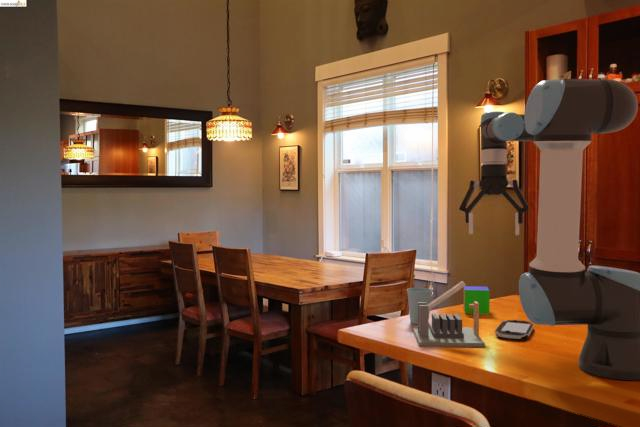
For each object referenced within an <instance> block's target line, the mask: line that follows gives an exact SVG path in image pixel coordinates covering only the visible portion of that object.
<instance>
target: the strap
mask: <svg viewBox="0 0 640 427" xmlns="http://www.w3.org/2000/svg"><path fill="white" fill-rule="evenodd" d="M464 286H467V284H466V283H465V281H463V280H461V281H460V282H458V283H457V284H455V285H454V286H452V287H451V288H449V289H448V290H446V291H445V292H443V293H442V294H441V295H440V296H438V297H436V298H435V299H433V300H431V303H429V304H428V306H429V310H432V309H433V308H435V307H436V306H438V305H439V304H441V303H442V302H444V301H445V300H447V299H448V298H450V297H451V296H452V295H454V294H455V293H457V292H458V291H460V290H461V289H464Z"/></svg>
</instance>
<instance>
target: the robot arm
mask: <svg viewBox="0 0 640 427" xmlns="http://www.w3.org/2000/svg"><path fill="white" fill-rule="evenodd" d="M638 110H639V102H638V98H637V96H636V94H635V92H634V91H633V89H631V88H630V87H629V86H628V85H626V83H623V82H620V81H619V80H617V79H616V80H615V79H609V78H601V79H600V78H599V79H597V78H596V79H592V78H591V79H590V78H589V79H588V78H587V79H586V78H556V79H545V80H541V81H540V82H538V83H537V84H535V86H534V87H533V89H531V92H530V93H529V95H528V98H527V101H526V105H525V109H524V113H521V114H520V113H516V112H513V111H512V112H510V111H509V112H504V111H488V112H483V113H482V114H481V116H480V124H479V127H480V163H481V164H482V165H481V166H480V180H479V181H477V180H476V181H475V180H470V182H469V188H468V190H467V192H466V194H465V195H464V197H463V199H462V202H461V204H460V205H459V208H458V209H459V211H462V212H464V213H465V214H464V217H465V218H464V220H465V223H466V224H468V235H473V234H474V212H472V210H474V208H475V207H476V206H477V205H478V203H479V202H480V201H481V200H482V199H483V198H484V197H485V196H486V195H487V196H494V195H495V196H501V195H502V196H504V198H505V199H506V200H507V201H508V202H509V203H510V204H511V205H512V207H514V209H515V210H516V211H517V212H515V215H514V216H515V218H514V219H515V220H514V221H515V225H514V226H515V227H514V228H515V230H514V231H515V232H514V233H515V236H519V235H520V224H523V223H524V213H525V212H527V211H530V209H531V208H530V206H529V204H528V202H527V201H526V199H525V196H524V195H523V193H522V191H521V189H520V187H519V181H518V180H517V179H512V180H508V178H507V177H508V168H507V167H508V166H507V165H506V163H507V162H508V152H507V151H508V150H507V149H508V145H507V144H508V142H533V144H534V145H535V147H537V148H538V149H539V151H540V155H539V156H540V158H539V159H540V160H539V179H538V180H539V184H538V208H537V210H538V211H537V235H536V237H537V238H536V256H535V258H533V260H531V261H530V262H529V264H528V265H529V266H528V272H527V271H526V272H525V271H524V273H521V275H520V276H519V280H518V295H519V301H520V304H521V307H522V310H523V313H524V314H525V316H526V318H527V319H528V320H529V322H531V324H533V325H537V326H538V325H540V326H550V327H554V326H587V333H586V336H585V337H586V338H585V339H584V342H583V344H582V348H581V351H580V353H579V355H578V367H579V368H580V370H582V371H584V372H586V373H588V374H589V375H590V374H591V375H594V376H597V377H600V378H601V377H602V378H606V379H613V380H618V381H619V380H620V381H640V272H637V271H634V270H628V269H623V268H617V267H611V266H610V267H609V266H602V265H589V266H588V268H587V269H586V266H585V265H584V264H583V263H582V262H581V261H580V260H579V249H580V248H579V246H580V245H579V244H580V225H581V206H582V205H581V202H582V181H583V179H582V178H583V158H584V157H583V156H584V154H583V153H584V150H585V149H586V148H587V146H589V145H590V144H591V143H592V135H594V134H595V135H596V134H597V135H599V134H610V133H615V132H619V131H622V130H624V129H626V128H627V127H628V126H630V124H631V123H632V122H633V121H634V120H635V118H636V117H637V113H638V112H639V111H638ZM509 185H510V187H511V188H513V190H514V192H515V194H516V196H517V198H518V200H519V201H520V204H521V205H522V206H520V204H519V203H518V202H517V201H516V200H515V199H514V198H513V197H512V195H511V194H509V192H508V190H506V189H507V187H508V186H509ZM478 187H480V188H481V190H480V191H479V193H478V194H477V196H475V198H474V199H473V200H472V201H471V203H470V204H469V202H470V199H471V198H472V195H473V193H474V191H475V190H476V188H478ZM468 204H469V205H468ZM586 270H587V271H586Z"/></svg>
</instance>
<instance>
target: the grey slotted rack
mask: <svg viewBox="0 0 640 427" xmlns="http://www.w3.org/2000/svg"><path fill="white" fill-rule="evenodd" d="M469 308H474V314H473V328H472V327H469V326H466V327H465V326H463V319H462V317H461V316H460V315H459V314H458V313H453V314H451V313H445V314H444V313H439V314H438V315H437V313H431V326H429V323H430V321H429V319H430V313H429V306H428V305H427V303H426V302H418V324H417V326H412V331H413V335H414V337H415V338H416V339H415V340H416V341H417V345H418V346H419V347H445V348H446V347H451V348H452V347H453V348H455V347H459V348H461V347H462V348H463V347H465V348H485V346H486V344H485V342H484V340H483V339H482V338H481V337H480V329H479V328H480V324H479V323H480V314H479V303H478V302H477V301H474V304H469Z"/></svg>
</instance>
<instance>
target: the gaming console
mask: <svg viewBox="0 0 640 427" xmlns="http://www.w3.org/2000/svg"><path fill="white" fill-rule="evenodd" d="M533 330H534V323H532V322H531V321H526V320H519V319H518V320H517V319H507V320H503V321H501V323H500V324H499V325H498V326H497V328H495V332H494V333H495V335H496V337H497V336H498V339H500V338H501V339H500V340H505V339H506V341H507V340H508V341H516V340H517V342H518V341H520V340H521V341H525V339H526V340H527V339H529V337H530V335H531V333H532V331H533Z"/></svg>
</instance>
